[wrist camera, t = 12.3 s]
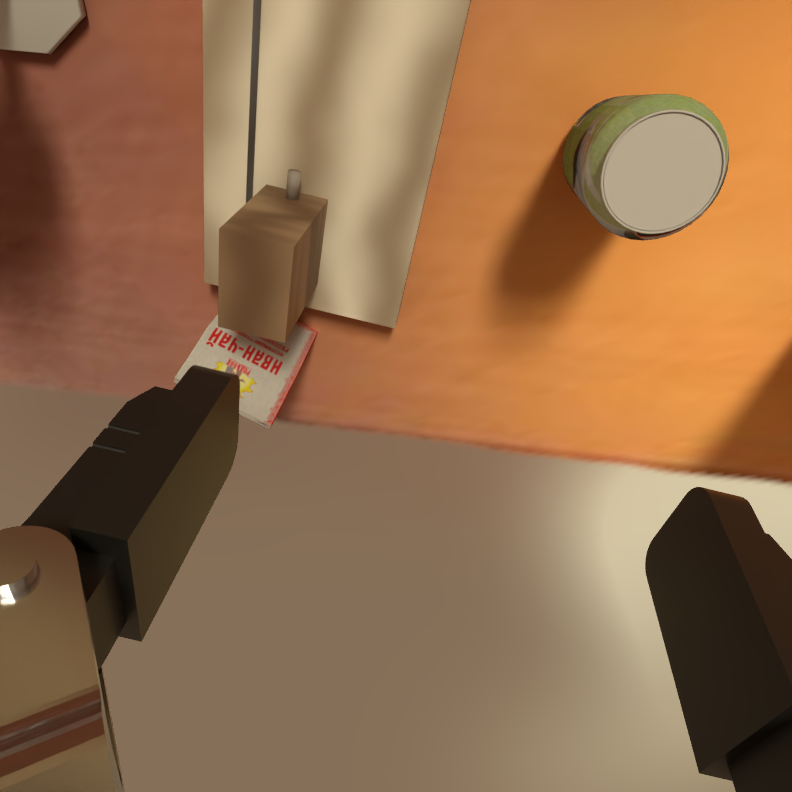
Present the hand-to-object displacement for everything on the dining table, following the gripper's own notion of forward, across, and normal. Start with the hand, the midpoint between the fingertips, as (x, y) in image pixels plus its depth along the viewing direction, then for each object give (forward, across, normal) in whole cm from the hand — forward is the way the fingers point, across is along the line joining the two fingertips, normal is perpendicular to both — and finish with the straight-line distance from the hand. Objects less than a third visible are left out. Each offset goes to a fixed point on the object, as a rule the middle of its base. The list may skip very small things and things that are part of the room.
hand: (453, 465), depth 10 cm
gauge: (+28, +10, +9) cm, 31 cm away
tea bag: (+30, +12, +18) cm, 37 cm away
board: (+30, +9, +4) cm, 32 cm away
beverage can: (+30, -8, -1) cm, 31 cm away
